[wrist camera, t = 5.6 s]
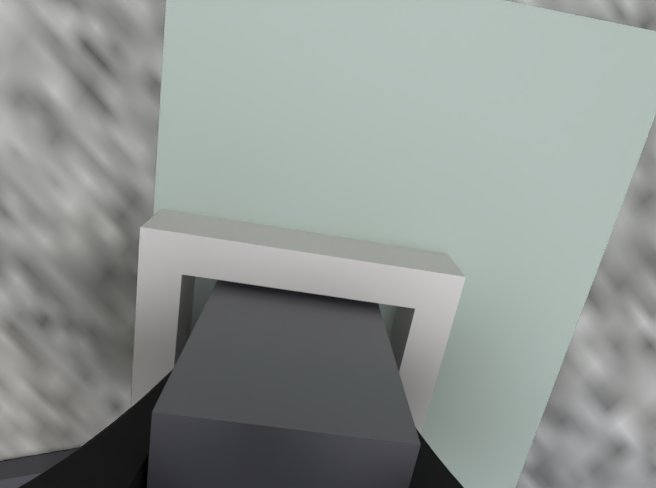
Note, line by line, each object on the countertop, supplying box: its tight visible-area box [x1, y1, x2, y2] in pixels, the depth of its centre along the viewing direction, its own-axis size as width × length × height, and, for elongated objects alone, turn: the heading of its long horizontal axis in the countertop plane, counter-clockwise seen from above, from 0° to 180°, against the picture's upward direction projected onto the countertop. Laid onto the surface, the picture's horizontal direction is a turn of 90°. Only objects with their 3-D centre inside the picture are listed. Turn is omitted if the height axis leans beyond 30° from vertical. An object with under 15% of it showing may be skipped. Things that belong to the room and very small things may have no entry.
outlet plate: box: [131, 0, 656, 488], centre depth 13 cm, size 16×12×3 cm
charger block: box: [147, 280, 421, 488], centre depth 10 cm, size 4×4×6 cm
